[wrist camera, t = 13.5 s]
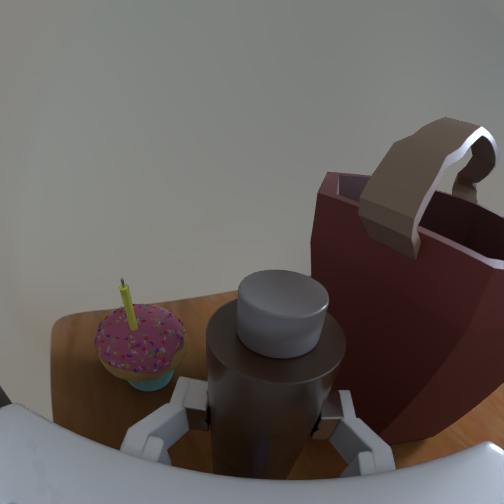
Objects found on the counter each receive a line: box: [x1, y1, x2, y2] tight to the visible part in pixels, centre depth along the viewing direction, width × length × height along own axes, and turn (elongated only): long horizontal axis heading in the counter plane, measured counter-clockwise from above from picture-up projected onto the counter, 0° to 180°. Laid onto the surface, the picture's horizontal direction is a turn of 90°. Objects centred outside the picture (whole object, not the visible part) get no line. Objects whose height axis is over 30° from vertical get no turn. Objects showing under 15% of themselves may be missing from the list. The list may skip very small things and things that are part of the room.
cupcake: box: [94, 278, 187, 391], centre depth 22 cm, size 9×8×12 cm
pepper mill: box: [206, 270, 346, 480], centre depth 11 cm, size 4×4×14 cm
